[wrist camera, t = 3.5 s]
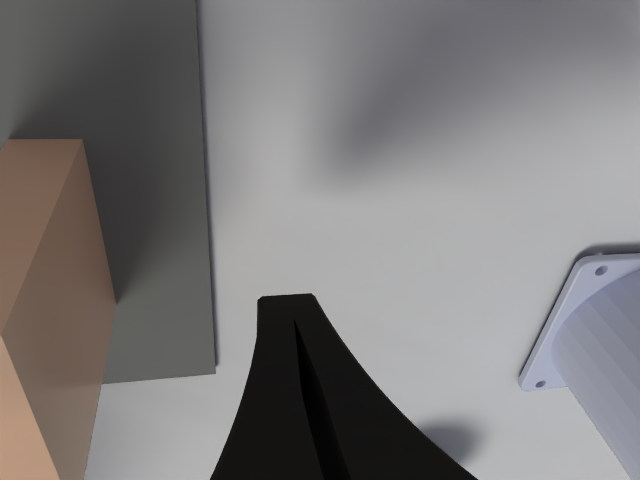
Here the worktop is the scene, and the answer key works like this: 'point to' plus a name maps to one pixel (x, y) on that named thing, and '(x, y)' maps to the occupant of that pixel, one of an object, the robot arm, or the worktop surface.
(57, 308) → the tile
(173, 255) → the mat
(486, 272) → the worktop surface
